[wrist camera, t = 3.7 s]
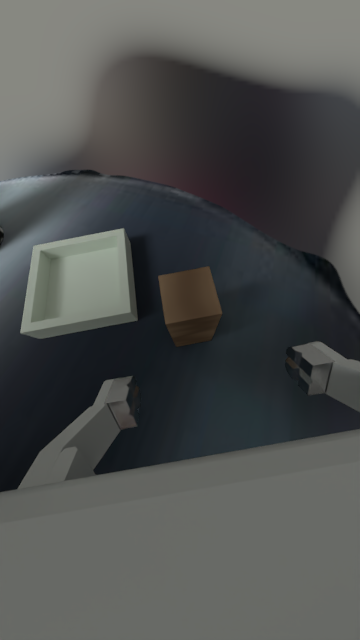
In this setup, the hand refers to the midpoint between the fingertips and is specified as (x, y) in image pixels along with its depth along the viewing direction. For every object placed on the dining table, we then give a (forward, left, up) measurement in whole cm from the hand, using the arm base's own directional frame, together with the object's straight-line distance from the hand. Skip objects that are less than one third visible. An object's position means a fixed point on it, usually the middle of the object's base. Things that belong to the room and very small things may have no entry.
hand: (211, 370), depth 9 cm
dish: (-12, +14, -10) cm, 21 cm away
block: (0, +6, -10) cm, 11 cm away
